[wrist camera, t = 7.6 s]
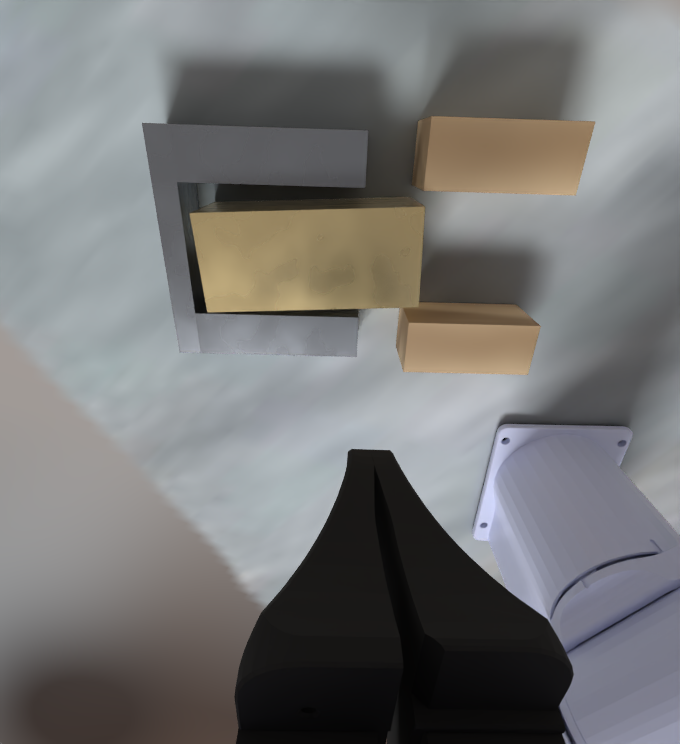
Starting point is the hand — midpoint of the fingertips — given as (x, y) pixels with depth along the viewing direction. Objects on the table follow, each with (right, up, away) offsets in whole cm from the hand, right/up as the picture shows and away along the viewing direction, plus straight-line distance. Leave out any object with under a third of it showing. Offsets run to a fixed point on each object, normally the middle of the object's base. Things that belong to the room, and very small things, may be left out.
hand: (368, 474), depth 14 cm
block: (-2, +10, +7) cm, 12 cm away
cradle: (-4, +9, +7) cm, 12 cm away
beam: (+5, +9, +7) cm, 13 cm away
